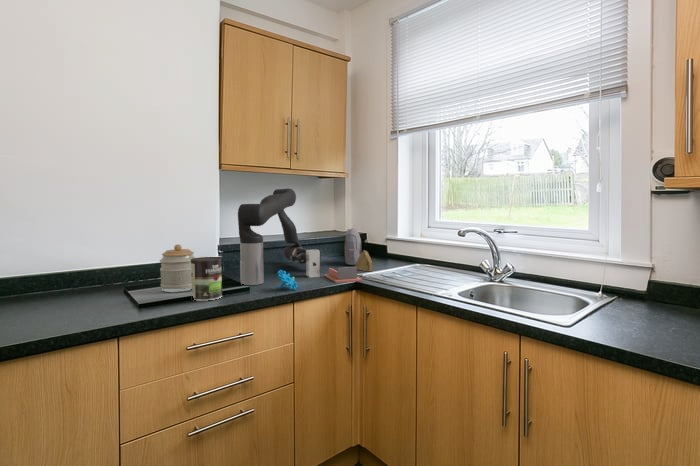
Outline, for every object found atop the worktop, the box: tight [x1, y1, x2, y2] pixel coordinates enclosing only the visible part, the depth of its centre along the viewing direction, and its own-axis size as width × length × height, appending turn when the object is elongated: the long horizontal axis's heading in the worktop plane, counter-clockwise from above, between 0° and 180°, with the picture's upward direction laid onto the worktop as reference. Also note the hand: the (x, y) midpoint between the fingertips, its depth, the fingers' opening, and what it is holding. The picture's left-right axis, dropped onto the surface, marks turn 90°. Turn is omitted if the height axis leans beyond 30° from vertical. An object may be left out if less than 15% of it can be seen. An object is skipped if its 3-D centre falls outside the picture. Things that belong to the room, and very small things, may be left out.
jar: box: [159, 243, 196, 289], centre depth 147 cm, size 13×13×18 cm
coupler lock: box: [305, 249, 321, 278], centre depth 174 cm, size 5×5×12 cm
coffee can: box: [191, 256, 223, 302], centre depth 134 cm, size 10×10×14 cm
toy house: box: [354, 249, 374, 272], centre depth 190 cm, size 11×9×10 cm
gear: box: [276, 269, 298, 291], centre depth 149 cm, size 11×6×10 cm
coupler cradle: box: [324, 266, 363, 284], centre depth 169 cm, size 12×16×6 cm
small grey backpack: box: [344, 227, 363, 266], centre depth 207 cm, size 15×8×20 cm, turn 169°
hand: (309, 259), depth 179 cm, fingers open, 8 cm apart
